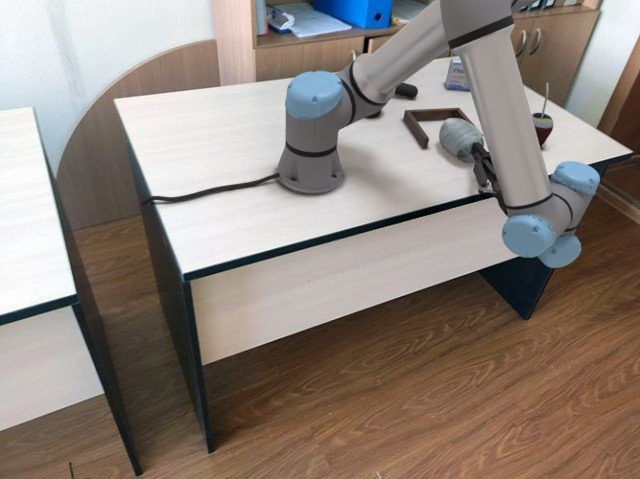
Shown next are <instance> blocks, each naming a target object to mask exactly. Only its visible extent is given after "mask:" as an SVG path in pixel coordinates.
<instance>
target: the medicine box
mask: <svg viewBox="0 0 640 479" xmlns="http://www.w3.org/2000/svg"><path fill="white" fill-rule="evenodd" d="M444 84H445V86H446V89H447V90H450V91H451V90H452V91H465V92H466V91H469V92H470V89H469V86H468V82H467V79H466V76H465V73H464V69H463V66H462V63H461V60H460V57H457V58H456V57H451V58H450V60H449V65H448V69H447V74H446V78H445V83H444Z"/></svg>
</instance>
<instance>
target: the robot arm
mask: <svg viewBox="0 0 640 479" xmlns="http://www.w3.org/2000/svg"><path fill="white" fill-rule="evenodd" d="M538 1H539V0H433V1H432V2H431V3H430V4H429V5H428V6H426V7H425V8H424V9H422V11H420V13H418V14H416V15H415V17H413V18H412V19H411V20H410V21H409V22H408V23H406V24H404V26H403V27H401V29H399V31H396V33H394V35H392V36H391V37H390V38H389V39H388V40H387V41H385V42H384V43H383V44H382V45H381V46H379V48H377V49H376V50H375V51H373V53H371V52H369V53H368V52H365V53H361V54H360V55H358V56H357V57H356V58H354V60H352V61H351V62H350V63H349V64H347V66H345V67H344V68H343V69H342V70H339V71H338V72H334V73H333V72H331V71H326V70H316V71H312V70H311V71H310V70H309V71H306V72H302V73H299V74H298V75H296V76H295V77H294V78H292V79H291V80H290V82H289V83H288V85H287V87H286V96H285V101H284V106H285V144H284V147H283V151H282V153H281V154H280V158H279V160H278V163H277V167H276V173H274V174H271V175H267V176H265V177H262V178H259V179H256V180H252V181H251V180H250V181H247V182H241V183H234V184H233V183H232V184H227V185H221V186H216V187H215V186H214V187H211V188H206V189H203V190H199V191H196V192H193V193H188V194H183V195H179V196H165V195H164V196H163V195H151V196H148V197H146V198H144V199H143V200H142V201H141V202H140V204H139V205H140V206H145V205H147V204H148V203H149V202H152V201H160V202H161V201H162V202H181V201H186V200H189V199H193V198H197V197H200V196H204V195H207V194H212V193H217V192H220V191H226V190H233V189H241V188H247V187H253V186H257V185H260V184H263V183H266V182H268V181H271V180H274V179H277V180H278V182H279V183H280V184H281V185H282V186H283V187H284V188H285V189H288V191H289V190H290V191H292V192H293V193H294V192H295V193H298V194H301V195H302V194H303V195H320V194H325V193H329V192H332V191H333V190H335V189H336V188H338V186H339V185H340V184H341V182H342V179H343V167H342V166H343V165H342V163H341V159H340V155H339V150H338V139H339V132H340V130H342V129H344V128H347V127H349V126H350V125H352V124H354V123H357V122H359V121H361V120H363V119H365V117H367V116H369V115H373V114H375V113H377V112H378V111H380V110H381V109H384V107H386V106H387V104H388V103H389V102H390V101H391V100H392V99H393V97H394V96H395V95H396V94H395V90H396V87H397V86H398V85H400V84H401V83H405V81H407V80H408V79H409V78H411V77H413V76H414V75H415V74H416V73H418V72H419V71H420V70H422V69H423V68H425V67H426V66H427V65H429V64H430V63H432V62H433V61H434V60H436V59H437V58H438V57H440V56H441V55H443V54H444V53H445V52H447V51H448V50H449V51H450V53H452V54H454V55H456V56H458V58H459V59H460V60H461V63H462V66H463V69H464V73H465V76H466V79H467V82H468V86H469V89H470V91H469V92H470V95H471V99H472V102H473V105H474V108H475V112H476V114H477V118H478V121H479V124H480V127H481V130H482V134H483V138H484V142H485V143H486V147H487V150H486V149H485V146H484V147H483V146H482V145H481V144H480V143H479V142H474V143H473V145H472V149H471V154H472V155H473V156H474V160H475V162H474V164H473V168H472V171H473V174H474V177H475V180H476V182H477V186H478V190H477V193H478V194H480V195H484V193H489V194H490V195H491V197H493V198H495V199H496V200H497V204H498V206H499V208H500V209H501V211H502V212H503V214H504V215H505V216H506V217H507V219H506V221H505V223H504V224H503V226H502V229H501V238H502V242H503V244H504V245H505V247H506V248H507V250H509V251H510V252H511V253H512V254H514V255H516V256H518V257H520V258H527V259H530V258H536V257H537V258H538V259H539V260H540V261H541V263H543V265H545V266H546V267H548V268H550V269H557V268H563V267H566V266H568V265H569V264H571V263H572V262H574V261H575V260H576V259H577V258H578V257H579V256H580V255H581V252H582V244H581V241H580V240H579V238H578V236H576V235H575V233H576V231H577V230H578V227H579V224H580V222H581V220H582V218H583V216H584V214H585V212H586V210H587V209H588V207H589V205H590V203H591V201H592V199H593V197H594V196H595V195H596V191H597V189H598V187H599V184H600V182H601V176H600V174H599V173H598V171H597V170H596V169H595V168H594V167H592V166H590V165H589V164H586V163H584V162H581V161H575V160H566V161H563V162H560V163H558V165H556V167H555V169H554V171H553V174H551V175H550V177H549V174H548V171H547V166H546V163H545V159H544V155H543V153H542V149H541V148H540V145H539V141H538V137H537V134H536V130H535V126H534V123H533V119H532V112H531V109H530V105H529V101H528V97H527V93H526V90H525V87H524V83H523V80H522V75H521V72H520V68H519V64H518V61H517V58H516V54H515V50H514V46H513V43H512V39H511V34H512V32H513V31H514V28H515V26H516V25H515V22H514V17H513V14H515V13H516V12H518V11H519V10H521V9H522V8H526V7H528V6H532V5H534V4H535V3H537V2H538ZM381 111H382V110H381Z"/></svg>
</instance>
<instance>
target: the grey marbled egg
mask: <svg viewBox="0 0 640 479" xmlns="http://www.w3.org/2000/svg"><path fill="white" fill-rule="evenodd" d="M474 125H475V124H474ZM474 125H472V124H471V123H469V122H467V121H465V120H463V119H459V118H449V119H447V120H443V123H442V124H441V126H440V128H439V131H438V132H439V133H438V139H439V144H440V145H441V148H442V149H443V150H444V151H445V152H446V153H448V154H449V155H450V156H451V157H452V158H454V159H456V160H458V161H460V162H462V163H466V164H475V160H474V156H473V155H472V154H471V149H472V145H473V143H474V142H479V143H480V144H481V145H482V146H483V147H484V148H485V139H484V135H483V136H482V134H483V133H482V132H481V131H480V130H479V129H478V128H477V126H476V125H475V126H476V127H475V126H474ZM480 132H481V133H482V134H481V133H480Z"/></svg>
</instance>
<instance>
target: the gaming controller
mask: <svg viewBox="0 0 640 479" xmlns="http://www.w3.org/2000/svg"><path fill="white" fill-rule="evenodd" d="M418 94H419V89H418V87H417V86H416V85H414V84H410V83H406V82H403V83H401V84H400V85H398V86H397V87H396V90H395V94H394V95H397V96H399V97H404V98H408V99H414V98H416V97H417V96H418Z"/></svg>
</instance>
